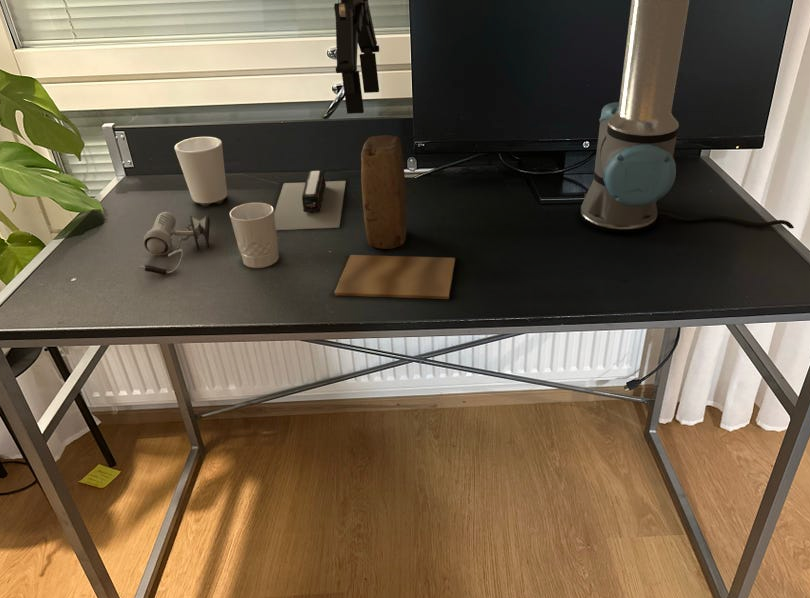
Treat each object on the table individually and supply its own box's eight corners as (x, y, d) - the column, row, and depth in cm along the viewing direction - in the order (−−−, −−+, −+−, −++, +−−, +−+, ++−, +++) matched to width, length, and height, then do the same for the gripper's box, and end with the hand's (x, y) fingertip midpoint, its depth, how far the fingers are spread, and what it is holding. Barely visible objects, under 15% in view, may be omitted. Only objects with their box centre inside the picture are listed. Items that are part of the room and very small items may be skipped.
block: (402, 252, 134) (396, 150, 122) (364, 251, 135) (354, 149, 123) (410, 227, 142) (406, 130, 131) (374, 226, 143) (367, 129, 131)
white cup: (289, 253, 135) (281, 204, 129) (268, 272, 129) (259, 222, 123) (253, 248, 137) (244, 200, 131) (231, 266, 131) (220, 217, 125)
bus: (345, 180, 164) (343, 163, 161) (339, 227, 143) (337, 208, 141) (283, 183, 163) (281, 165, 161) (268, 230, 143) (265, 211, 141)
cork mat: (455, 260, 131) (455, 257, 130) (448, 299, 120) (448, 296, 119) (350, 257, 133) (350, 254, 132) (334, 295, 122) (334, 292, 121)
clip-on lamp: (198, 288, 130) (216, 227, 142) (191, 262, 126) (211, 202, 137) (133, 285, 130) (158, 224, 142) (125, 259, 125) (150, 198, 137)
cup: (213, 188, 162) (201, 133, 154) (242, 197, 157) (231, 141, 150) (178, 203, 156) (164, 146, 148) (207, 213, 151) (194, 155, 143)
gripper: (342, -43, 121) (358, 85, 133) (302, -27, 100) (325, 123, 112) (384, -46, 119) (397, 83, 131) (352, -30, 99) (370, 121, 111)
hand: (364, 102), depth 122 cm, fingers open, 13 cm apart
